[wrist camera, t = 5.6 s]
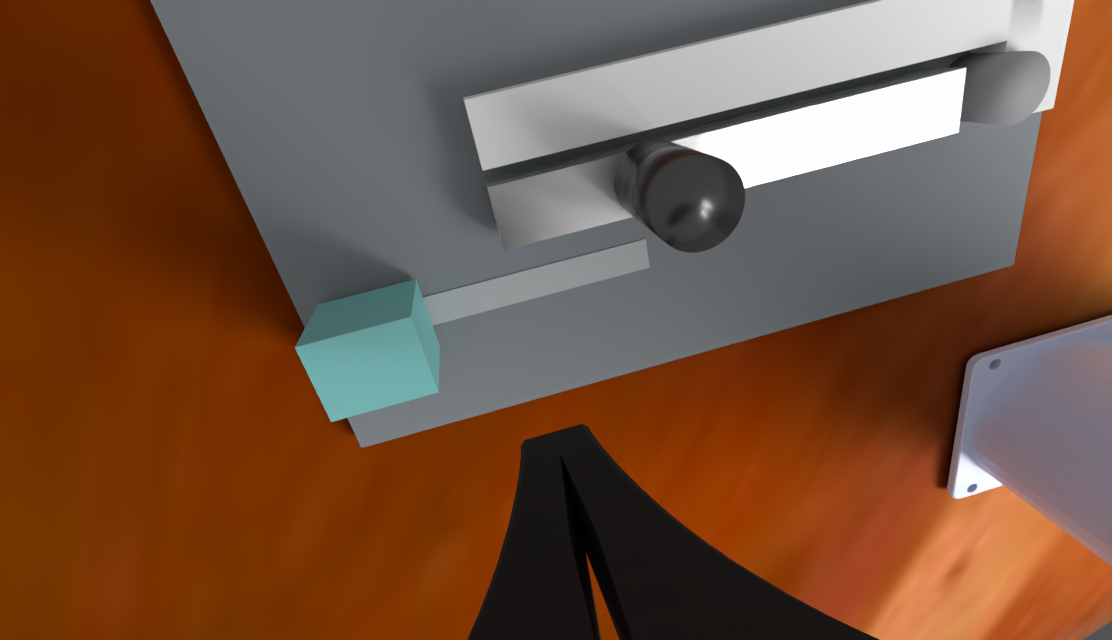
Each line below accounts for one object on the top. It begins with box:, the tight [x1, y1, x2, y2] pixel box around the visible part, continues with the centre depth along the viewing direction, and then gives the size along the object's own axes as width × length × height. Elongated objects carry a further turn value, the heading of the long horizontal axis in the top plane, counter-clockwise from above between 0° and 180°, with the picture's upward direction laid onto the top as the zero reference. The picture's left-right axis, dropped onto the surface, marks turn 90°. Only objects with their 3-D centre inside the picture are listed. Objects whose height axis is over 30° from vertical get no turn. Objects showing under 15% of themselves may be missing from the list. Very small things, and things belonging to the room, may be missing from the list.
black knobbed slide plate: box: [485, 67, 966, 253], centre depth 15 cm, size 14×2×4 cm, turn 102°
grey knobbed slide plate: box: [150, 0, 1074, 448], centre depth 16 cm, size 25×15×2 cm, turn 102°
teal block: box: [295, 279, 440, 422], centre depth 16 cm, size 3×2×3 cm
